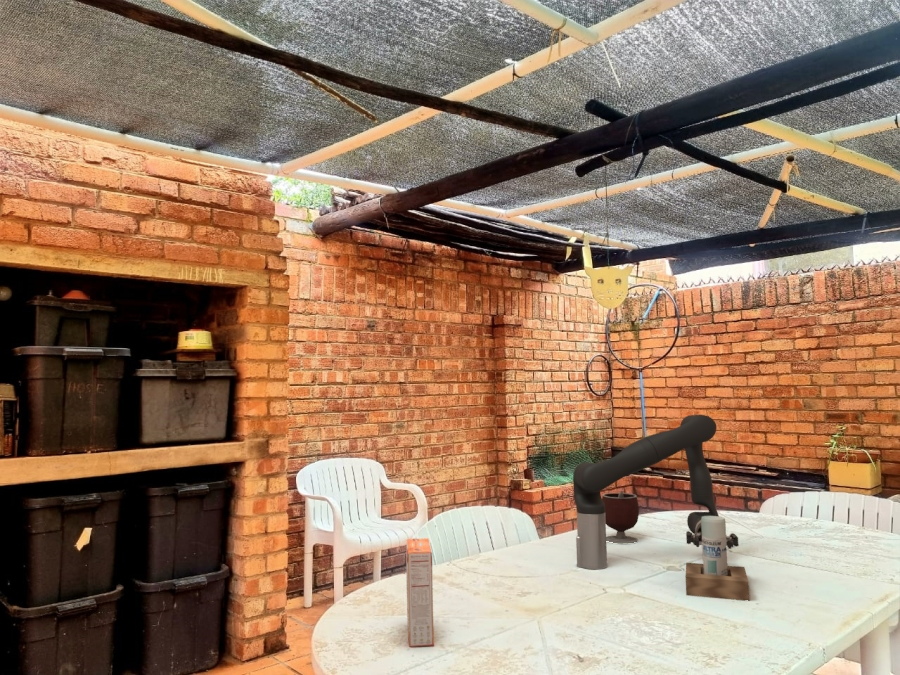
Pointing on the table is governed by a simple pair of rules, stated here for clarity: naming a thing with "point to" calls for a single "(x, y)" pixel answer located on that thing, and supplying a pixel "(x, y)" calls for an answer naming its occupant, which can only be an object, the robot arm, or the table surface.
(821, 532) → the table surface
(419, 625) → the cracker box
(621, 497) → the mate gourd
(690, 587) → the walnut holder
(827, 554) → the table surface
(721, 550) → the spray paint can
